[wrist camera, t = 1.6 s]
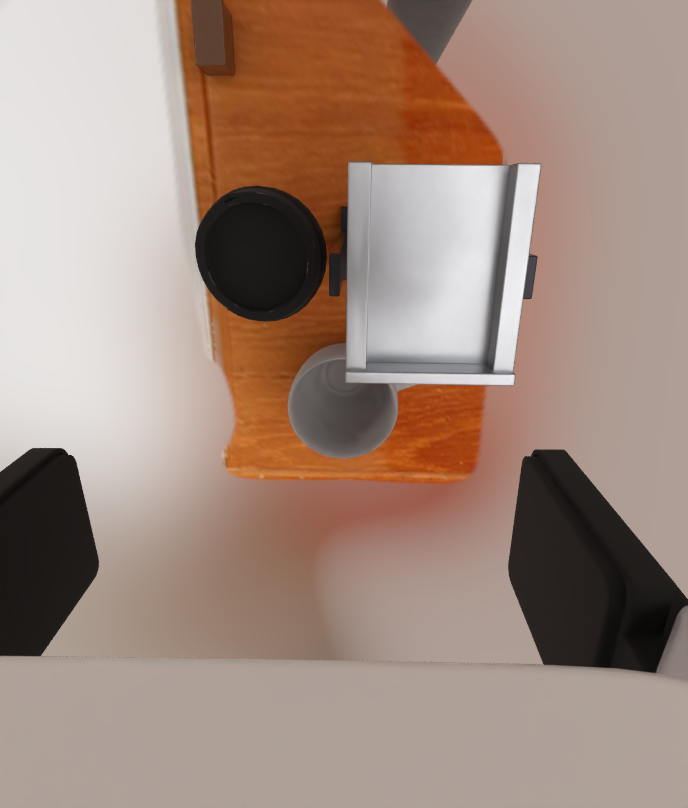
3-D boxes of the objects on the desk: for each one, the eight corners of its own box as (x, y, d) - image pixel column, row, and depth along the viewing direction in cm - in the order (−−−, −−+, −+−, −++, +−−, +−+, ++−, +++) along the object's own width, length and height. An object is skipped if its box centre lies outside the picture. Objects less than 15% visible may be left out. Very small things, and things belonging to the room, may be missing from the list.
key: (235, 75, 41) (225, 65, 38) (207, 75, 41) (195, 65, 38) (228, -43, 38) (217, -64, 35) (199, -43, 38) (185, -64, 35)
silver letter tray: (348, 164, 23) (347, 160, 21) (529, 166, 23) (545, 162, 21) (346, 370, 26) (345, 383, 24) (503, 373, 26) (514, 386, 24)
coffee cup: (312, 175, 43) (291, 160, 29) (348, 271, 46) (344, 300, 32) (222, 213, 44) (161, 217, 30) (263, 305, 47) (223, 346, 33)
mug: (320, 427, 51) (312, 473, 42) (284, 347, 48) (268, 379, 39) (434, 386, 50) (452, 426, 41) (404, 301, 47) (416, 324, 38)
